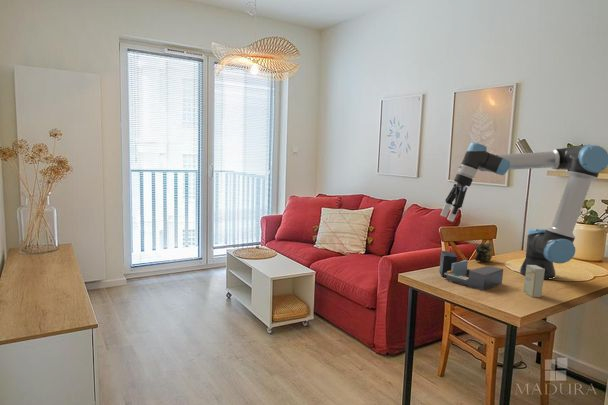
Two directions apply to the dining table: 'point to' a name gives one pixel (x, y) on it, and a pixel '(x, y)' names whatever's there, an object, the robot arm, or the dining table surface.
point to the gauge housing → (479, 277)
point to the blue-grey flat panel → (459, 268)
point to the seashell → (484, 252)
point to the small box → (446, 262)
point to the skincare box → (534, 280)
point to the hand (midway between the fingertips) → (446, 218)
